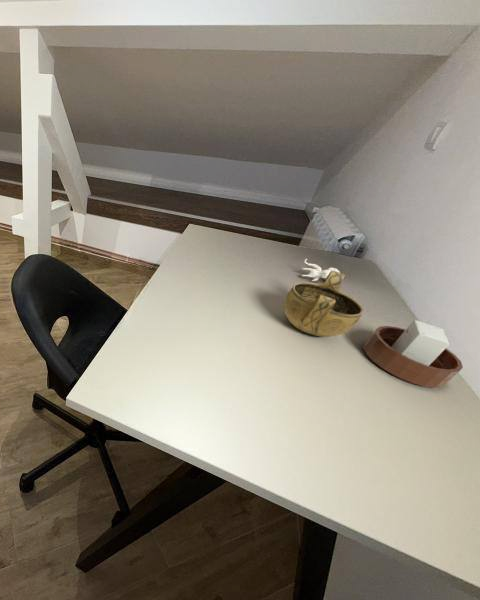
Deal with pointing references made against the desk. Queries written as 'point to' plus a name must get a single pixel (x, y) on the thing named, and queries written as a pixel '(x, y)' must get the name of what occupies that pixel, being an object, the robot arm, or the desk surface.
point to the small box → (421, 342)
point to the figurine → (317, 272)
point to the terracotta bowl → (409, 360)
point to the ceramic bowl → (322, 307)
